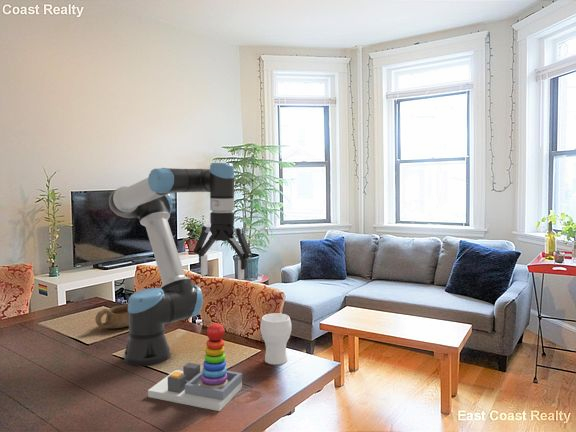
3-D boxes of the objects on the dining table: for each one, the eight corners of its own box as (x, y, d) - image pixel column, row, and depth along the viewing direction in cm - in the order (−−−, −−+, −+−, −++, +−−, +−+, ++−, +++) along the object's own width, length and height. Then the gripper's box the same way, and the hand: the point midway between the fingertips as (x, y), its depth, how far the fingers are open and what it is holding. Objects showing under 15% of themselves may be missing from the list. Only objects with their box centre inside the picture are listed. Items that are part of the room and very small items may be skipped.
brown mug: (114, 333, 171) (108, 309, 172) (92, 337, 178) (86, 313, 178) (149, 320, 187) (143, 297, 187) (127, 324, 194) (122, 302, 194)
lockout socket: (185, 393, 123) (184, 384, 123) (206, 375, 134) (206, 367, 134) (223, 400, 119) (223, 391, 119) (241, 381, 130) (241, 373, 130)
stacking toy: (214, 396, 121) (214, 330, 120) (194, 388, 126) (193, 324, 124) (233, 385, 128) (233, 322, 126) (213, 378, 132) (213, 317, 131)
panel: (148, 396, 125) (147, 388, 125) (175, 376, 138) (175, 368, 138) (219, 411, 117) (219, 402, 117) (242, 387, 130) (241, 379, 130)
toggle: (183, 379, 131) (183, 366, 131) (188, 375, 134) (188, 362, 134) (195, 381, 130) (194, 368, 130) (200, 377, 133) (200, 364, 132)
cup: (287, 368, 144) (288, 323, 143) (256, 365, 146) (256, 321, 145) (293, 355, 154) (294, 313, 153) (264, 352, 157) (264, 311, 155)
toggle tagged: (167, 390, 124) (167, 375, 124) (173, 385, 127) (173, 370, 127) (180, 393, 123) (179, 377, 123) (185, 388, 126) (185, 372, 125)
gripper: (182, 210, 140) (182, 275, 142) (252, 214, 131) (251, 283, 133) (195, 209, 147) (196, 271, 149) (262, 212, 138) (262, 278, 140)
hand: (222, 277), depth 141 cm, fingers open, 13 cm apart
